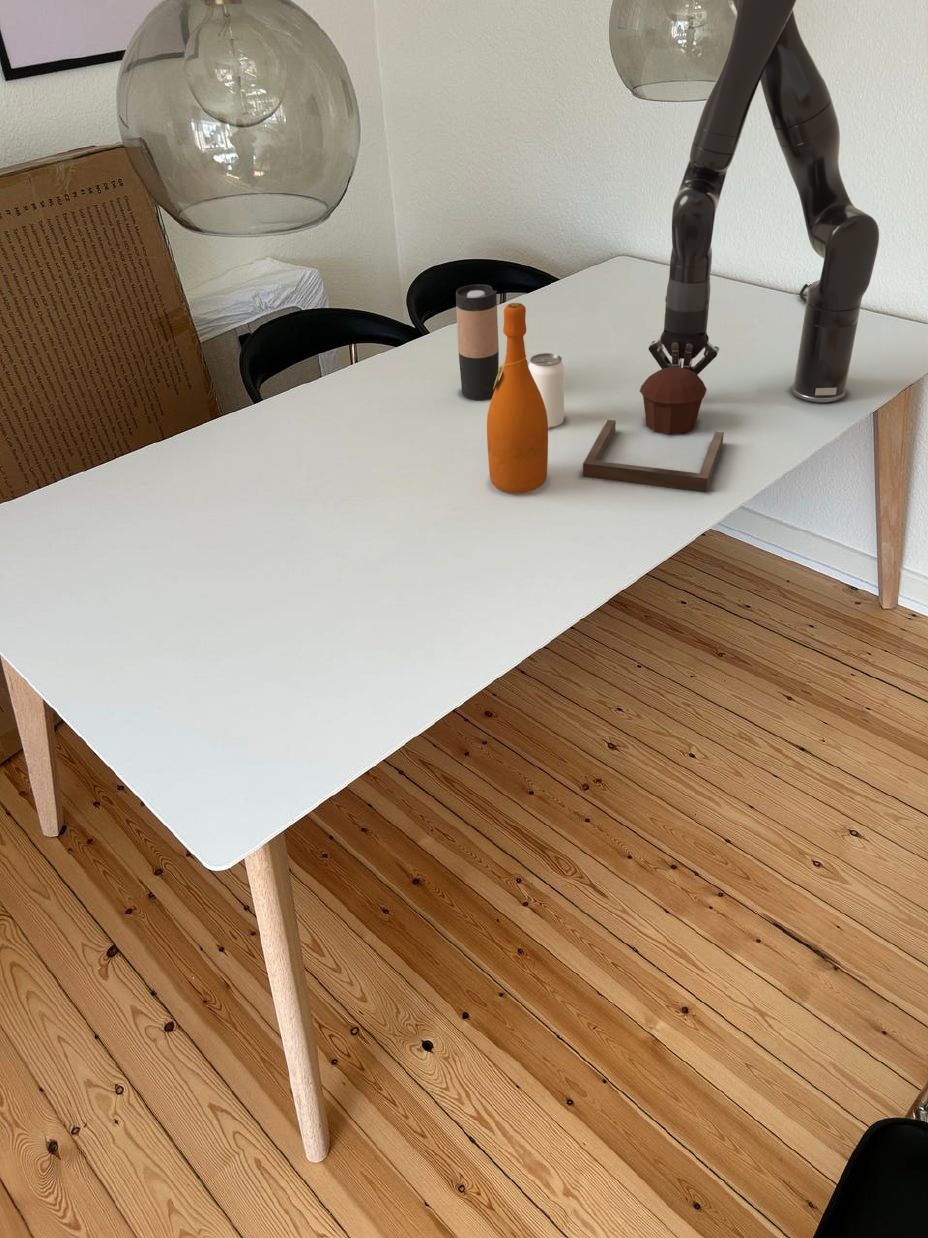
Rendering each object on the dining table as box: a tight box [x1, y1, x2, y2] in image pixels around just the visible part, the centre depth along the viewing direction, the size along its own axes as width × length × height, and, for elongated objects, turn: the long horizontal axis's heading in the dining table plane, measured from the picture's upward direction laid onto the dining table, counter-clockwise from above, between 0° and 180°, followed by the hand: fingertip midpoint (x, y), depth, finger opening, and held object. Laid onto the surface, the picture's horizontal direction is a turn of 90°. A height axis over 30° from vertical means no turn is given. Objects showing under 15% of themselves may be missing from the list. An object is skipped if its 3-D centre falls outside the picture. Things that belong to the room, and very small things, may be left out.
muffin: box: [639, 367, 707, 436], centre depth 181 cm, size 12×11×10 cm
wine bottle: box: [486, 302, 549, 494], centre depth 161 cm, size 10×10×30 cm
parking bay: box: [582, 419, 725, 493], centre depth 172 cm, size 17×20×2 cm
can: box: [528, 352, 565, 429], centre depth 184 cm, size 6×6×12 cm
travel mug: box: [455, 284, 500, 401], centre depth 193 cm, size 8×8×20 cm
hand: (679, 394), depth 190 cm, fingers closed
